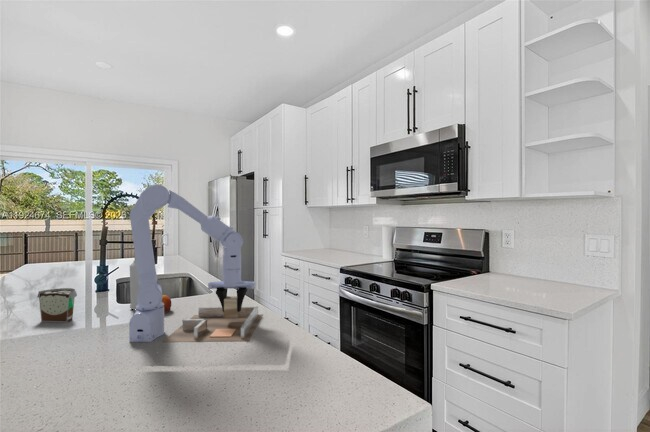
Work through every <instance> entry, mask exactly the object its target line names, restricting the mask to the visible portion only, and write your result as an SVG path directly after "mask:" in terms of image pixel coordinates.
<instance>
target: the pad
mask: <svg viewBox="0 0 650 432" xmlns="http://www.w3.org/2000/svg"><path fill="white" fill-rule="evenodd" d="M235 331H236V329H216V330H215V331H214V332H213V333H212V334H211V335H210V337H232V335H233V334H234V332H235Z"/></svg>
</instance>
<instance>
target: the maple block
mask: <svg viewBox="0 0 650 432" xmlns="http://www.w3.org/2000/svg"><path fill="white" fill-rule="evenodd" d="M237 304H238V300H237V295H227V297H226V298H225V299H224V318H237V317H238V316H239V315H240V312H238V311H237Z"/></svg>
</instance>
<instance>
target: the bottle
mask: <svg viewBox="0 0 650 432" xmlns="http://www.w3.org/2000/svg"><path fill="white" fill-rule="evenodd" d="M129 288H130V289H129V290H130V291H129V292H130V304H129V309H130V308H131V309H136V306H137V305H138V303H137V295H138V293H139V277H138V270H137V263H136V256H135V255H134V260H133V262H132V263H131V264H130V265H129ZM131 309H130V310H131Z"/></svg>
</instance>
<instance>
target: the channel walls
mask: <svg viewBox="0 0 650 432" xmlns="http://www.w3.org/2000/svg"><path fill="white" fill-rule="evenodd" d="M197 315H198V317H224V312H223V309H222V306H199V307H198V314H197ZM258 315H259V306H242V307H241V311H240V315H239V316H249V317H248V318H247V320H246V321H245V322H244V324H243V325H242V327H241V339H244V338H245V337H246V335H247V333H248V332H249V330H250V328H251V327H252V325H253V323H254V322H255V320H256V318H257V317H258ZM182 325H183V330H194V339H198V338H199V337H200V336H201V335H202V334H203V333H204V332H205V331H206V330H207V319H190V318H186V319H185V318H184V319H182Z"/></svg>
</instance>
